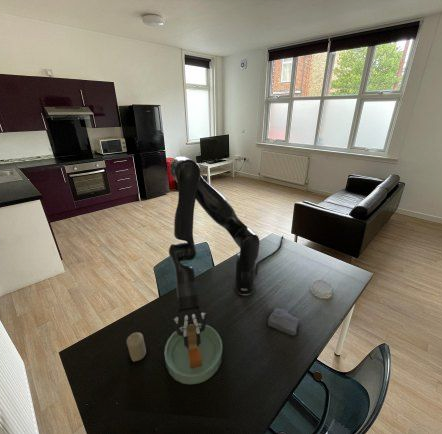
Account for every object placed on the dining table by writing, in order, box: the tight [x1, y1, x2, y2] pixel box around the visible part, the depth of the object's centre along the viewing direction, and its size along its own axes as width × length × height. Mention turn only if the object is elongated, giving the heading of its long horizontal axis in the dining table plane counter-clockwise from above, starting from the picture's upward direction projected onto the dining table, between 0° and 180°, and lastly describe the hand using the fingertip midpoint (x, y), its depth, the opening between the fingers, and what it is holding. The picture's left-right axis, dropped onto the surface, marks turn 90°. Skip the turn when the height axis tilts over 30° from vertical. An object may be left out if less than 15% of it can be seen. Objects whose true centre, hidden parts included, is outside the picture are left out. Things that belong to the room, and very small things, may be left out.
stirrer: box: [187, 324, 197, 351], centre depth 84 cm, size 3×3×12 cm
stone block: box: [267, 307, 300, 336], centre depth 100 cm, size 12×5×10 cm
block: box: [189, 348, 202, 368], centre depth 84 cm, size 4×4×4 cm
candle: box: [126, 331, 147, 363], centre depth 85 cm, size 6×6×10 cm
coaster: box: [310, 279, 334, 300], centre depth 117 cm, size 10×10×4 cm
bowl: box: [163, 322, 223, 385], centre depth 86 cm, size 20×20×5 cm
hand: (193, 346), depth 83 cm, fingers closed on stirrer, 3 cm apart
